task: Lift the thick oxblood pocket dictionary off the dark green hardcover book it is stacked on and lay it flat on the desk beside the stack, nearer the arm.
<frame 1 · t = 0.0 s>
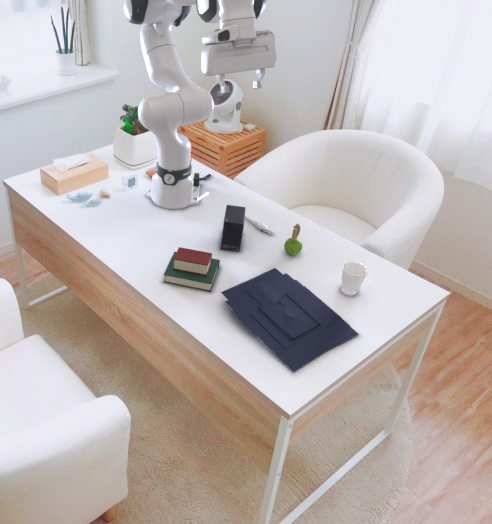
hand: (241, 90, 147), 52 cm above the table, tool tilted 20°, fingers open, 8 cm apart
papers: (284, 320, 155), on the table
small box: (231, 242, 185), on the table
cup: (350, 289, 166), on the table
pocket dictionary: (192, 266, 168), point 3 cm above the table, touching hardcover book
hardcover book: (191, 275, 170), on the table, touching pocket dictionary
stylus pen: (255, 226, 192), on the table
snail figurine: (291, 254, 179), on the table
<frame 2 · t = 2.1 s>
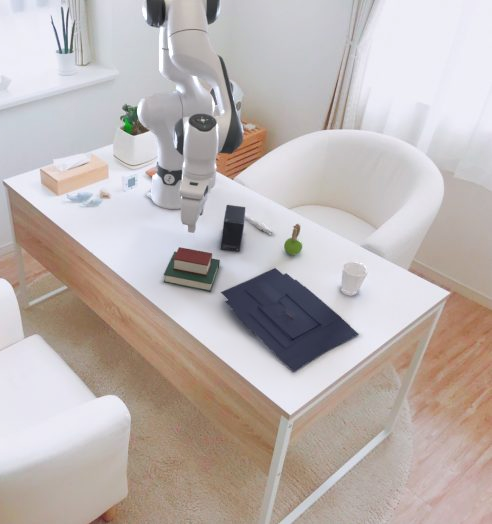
hand: (195, 222, 159), 18 cm above the table, tool pointing down, fingers open, 8 cm apart
nothing on the table moved.
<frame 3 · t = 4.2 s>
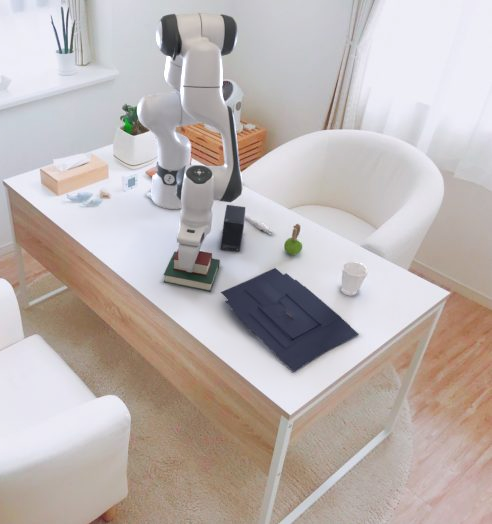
hand: (192, 263, 168), 4 cm above the table, tool pointing down, fingers closed on pocket dictionary, 6 cm apart
pocket dictionary: (192, 266, 169), point 3 cm above the table, touching gripper, hardcover book
everything else where it was.
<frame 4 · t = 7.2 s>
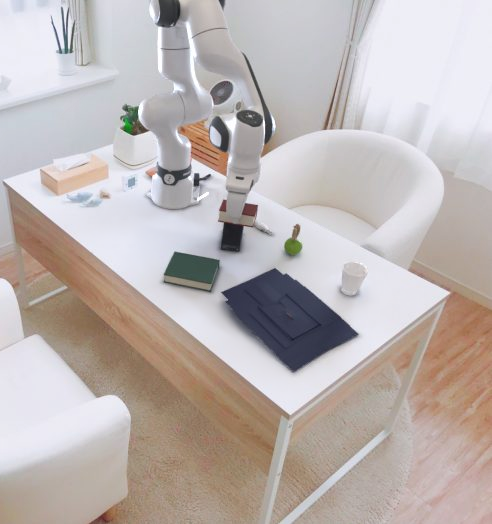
hand: (237, 215, 163), 18 cm above the table, tool pointing down, fingers closed on pocket dictionary, 6 cm apart
pocket dictionary: (237, 219, 164), point 17 cm above the table, touching gripper
hardcover book: (191, 275, 170), on the table
everything else where it was.
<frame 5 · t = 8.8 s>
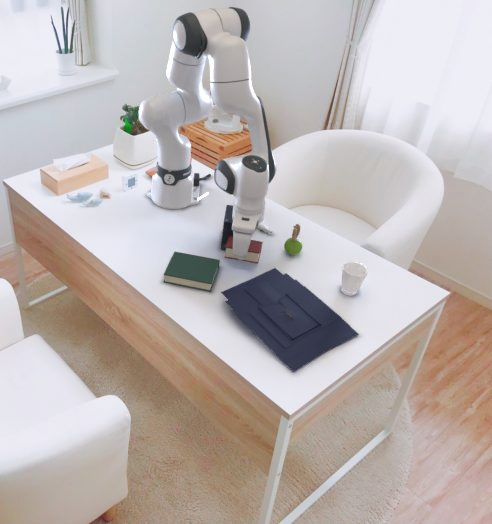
hand: (243, 252, 172), 5 cm above the table, tool pointing down, fingers closed on pocket dictionary, 6 cm apart
pocket dictionary: (242, 255, 173), point 3 cm above the table, touching gripper
everything else where it was.
when the fingers open (1 cm above the table, at t = 10.3 s): pocket dictionary stays where it is, on the table.
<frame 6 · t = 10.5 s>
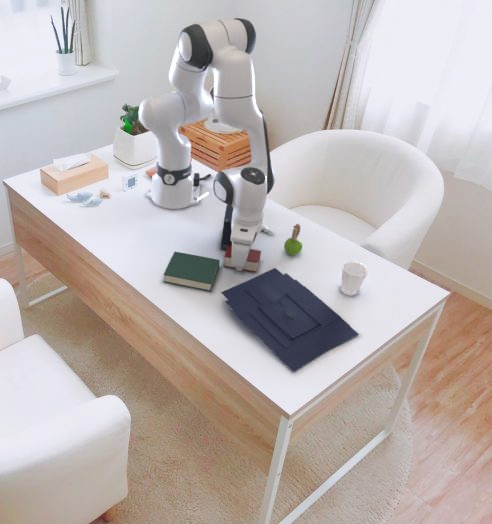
hand: (241, 261, 174), 1 cm above the table, tool pointing down, fingers open, 7 cm apart
pocket dictionary: (241, 264, 175), on the table
everything else where it was.
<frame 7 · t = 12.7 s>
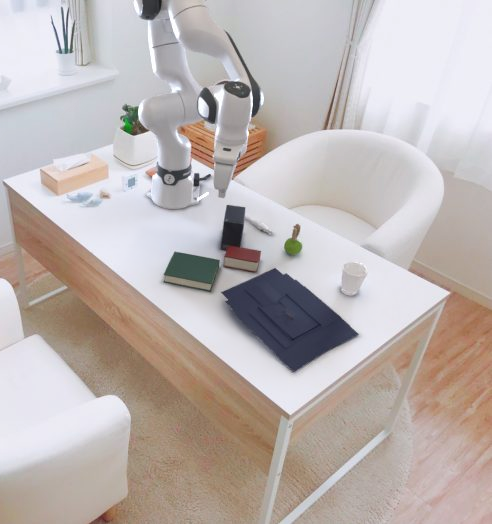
hand: (225, 188, 164), 24 cm above the table, tool pointing down, fingers open, 8 cm apart
nothing on the table moved.
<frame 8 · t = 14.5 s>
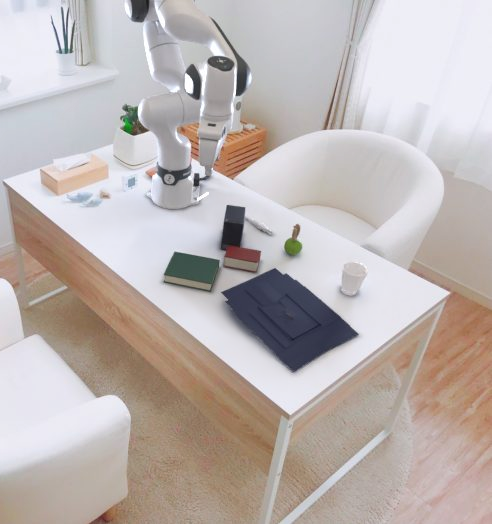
hand: (212, 167, 163), 29 cm above the table, tool pointing down, fingers open, 8 cm apart
nothing on the table moved.
at the end: pocket dictionary inside the target area (0.1 cm from its centre), on the table; pocket dictionary tilted 0°; hardcover book moved 0.0 cm from its start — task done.
